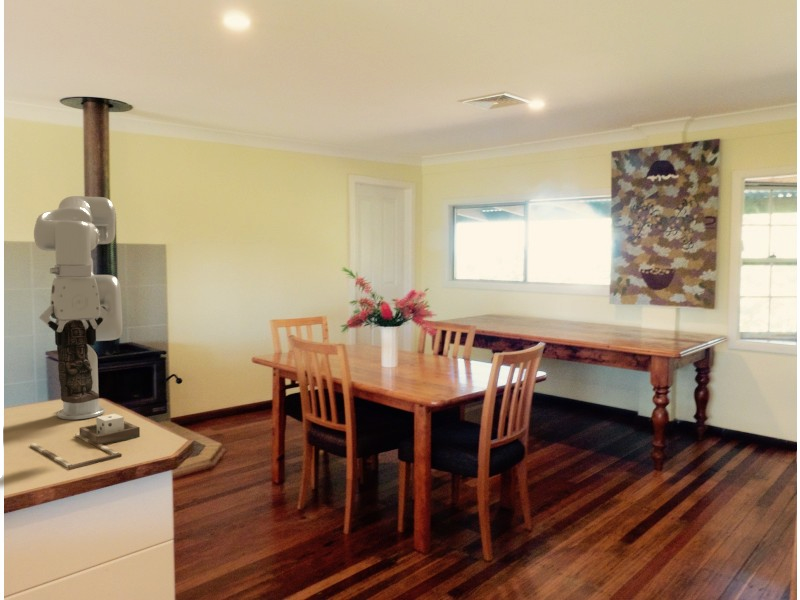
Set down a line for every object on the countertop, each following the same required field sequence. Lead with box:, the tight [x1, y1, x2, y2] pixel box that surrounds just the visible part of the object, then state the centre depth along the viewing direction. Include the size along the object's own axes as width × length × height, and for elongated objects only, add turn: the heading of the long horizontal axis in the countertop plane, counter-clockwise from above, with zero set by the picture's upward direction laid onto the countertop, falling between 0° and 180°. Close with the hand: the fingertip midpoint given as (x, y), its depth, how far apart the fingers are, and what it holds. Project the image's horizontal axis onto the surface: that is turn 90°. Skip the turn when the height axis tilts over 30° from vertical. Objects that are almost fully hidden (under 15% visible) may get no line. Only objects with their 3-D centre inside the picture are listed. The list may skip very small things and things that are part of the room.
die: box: [95, 413, 125, 435], centre depth 166 cm, size 5×5×5 cm
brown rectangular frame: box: [29, 432, 123, 470], centre depth 155 cm, size 24×12×1 cm, turn 50°
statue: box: [56, 320, 100, 403], centre depth 152 cm, size 7×7×20 cm
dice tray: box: [79, 420, 141, 446], centre depth 167 cm, size 11×11×2 cm
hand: (76, 345), depth 151 cm, fingers closed on statue, 6 cm apart
